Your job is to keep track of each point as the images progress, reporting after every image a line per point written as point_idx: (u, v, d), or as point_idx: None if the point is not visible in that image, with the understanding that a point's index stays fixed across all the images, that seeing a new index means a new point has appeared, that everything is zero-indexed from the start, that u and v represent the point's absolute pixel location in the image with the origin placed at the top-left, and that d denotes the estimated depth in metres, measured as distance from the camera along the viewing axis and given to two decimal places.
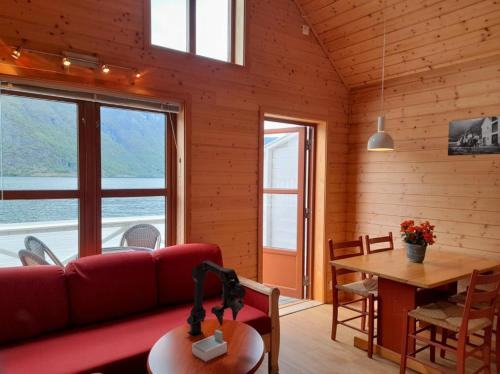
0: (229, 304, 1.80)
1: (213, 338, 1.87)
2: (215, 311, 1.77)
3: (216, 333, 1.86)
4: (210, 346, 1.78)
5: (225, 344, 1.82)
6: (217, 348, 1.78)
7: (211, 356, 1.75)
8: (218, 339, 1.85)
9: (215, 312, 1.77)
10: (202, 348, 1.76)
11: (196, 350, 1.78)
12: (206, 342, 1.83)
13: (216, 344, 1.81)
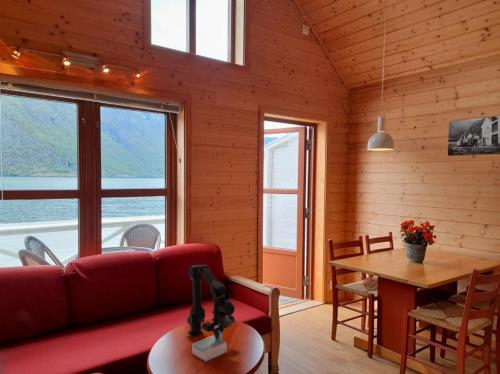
0: (219, 320, 1.81)
1: (213, 338, 1.87)
2: (205, 327, 1.78)
3: None
4: (210, 346, 1.78)
5: (225, 344, 1.82)
6: (217, 348, 1.78)
7: (211, 356, 1.75)
8: (218, 339, 1.85)
9: (205, 328, 1.78)
10: (202, 348, 1.76)
11: (196, 350, 1.78)
12: (206, 342, 1.83)
13: (216, 344, 1.81)
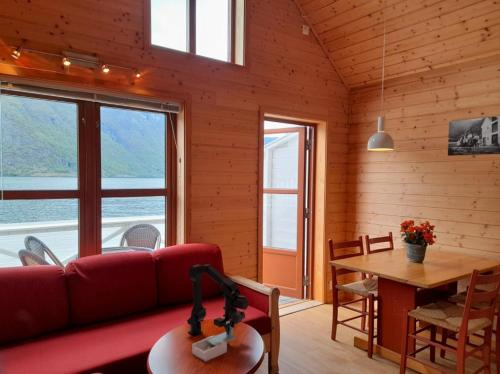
0: (231, 316, 1.87)
1: (224, 333, 1.93)
2: (217, 323, 1.84)
3: None
4: (222, 341, 1.84)
5: (225, 344, 1.82)
6: (217, 348, 1.78)
7: (211, 356, 1.75)
8: (229, 334, 1.91)
9: (217, 324, 1.84)
10: (214, 343, 1.82)
11: (196, 350, 1.78)
12: (218, 337, 1.88)
13: (227, 339, 1.86)
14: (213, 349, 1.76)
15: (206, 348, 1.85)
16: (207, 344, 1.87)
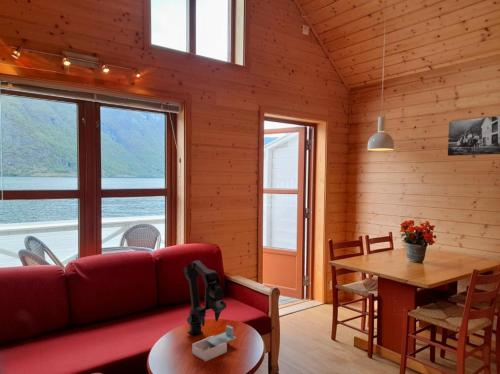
0: (211, 305, 1.84)
1: (224, 333, 1.93)
2: (197, 312, 1.82)
3: (227, 329, 1.91)
4: (222, 341, 1.84)
5: (225, 344, 1.82)
6: (217, 348, 1.78)
7: (211, 356, 1.75)
8: (229, 334, 1.91)
9: (197, 313, 1.82)
10: (214, 343, 1.82)
11: (196, 350, 1.78)
12: (218, 337, 1.88)
13: (227, 339, 1.86)
14: (213, 349, 1.76)
15: (206, 348, 1.85)
16: (207, 344, 1.87)
